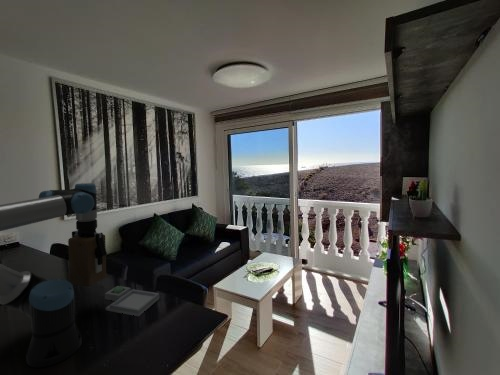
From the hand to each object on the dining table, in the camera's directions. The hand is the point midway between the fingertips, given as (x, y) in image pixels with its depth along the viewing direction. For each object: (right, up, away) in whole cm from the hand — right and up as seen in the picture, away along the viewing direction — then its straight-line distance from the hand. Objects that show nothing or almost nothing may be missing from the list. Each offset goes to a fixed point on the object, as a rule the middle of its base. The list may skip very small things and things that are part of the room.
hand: (88, 270), depth 108 cm
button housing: (+5, -18, +15) cm, 24 cm away
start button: (+5, -17, +15) cm, 23 cm away
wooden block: (0, -5, 0) cm, 5 cm away
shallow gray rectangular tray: (+16, -19, +8) cm, 26 cm away
